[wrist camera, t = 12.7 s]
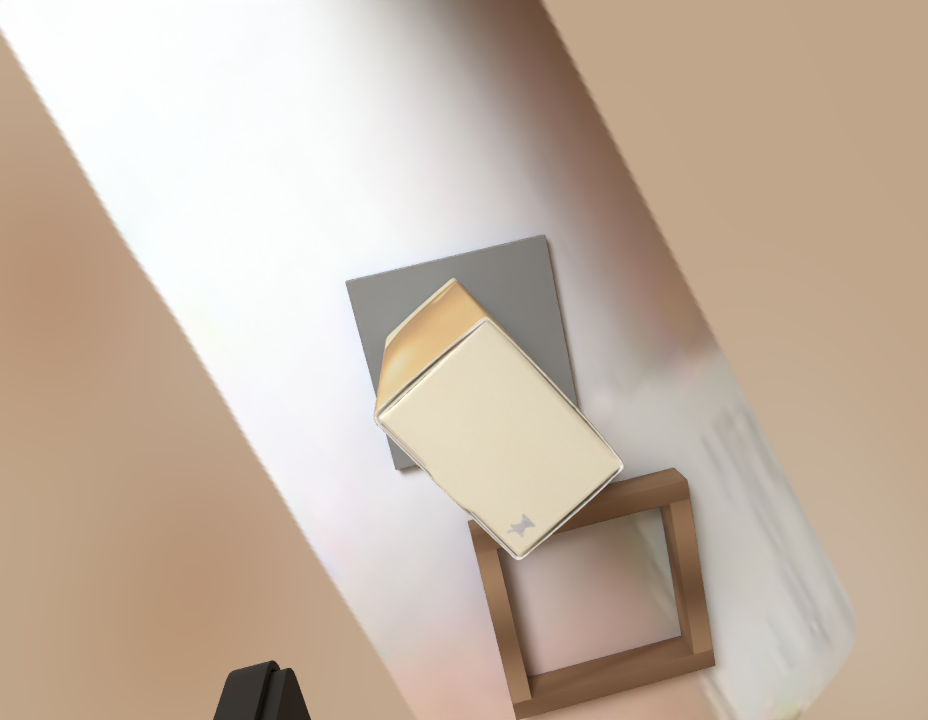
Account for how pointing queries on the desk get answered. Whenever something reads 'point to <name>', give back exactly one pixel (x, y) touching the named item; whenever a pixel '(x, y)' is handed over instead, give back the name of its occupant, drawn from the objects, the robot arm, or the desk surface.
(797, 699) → the desk surface
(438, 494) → the desk surface
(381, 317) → the rubber mat
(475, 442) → the skincare box
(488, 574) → the square wooden frame
